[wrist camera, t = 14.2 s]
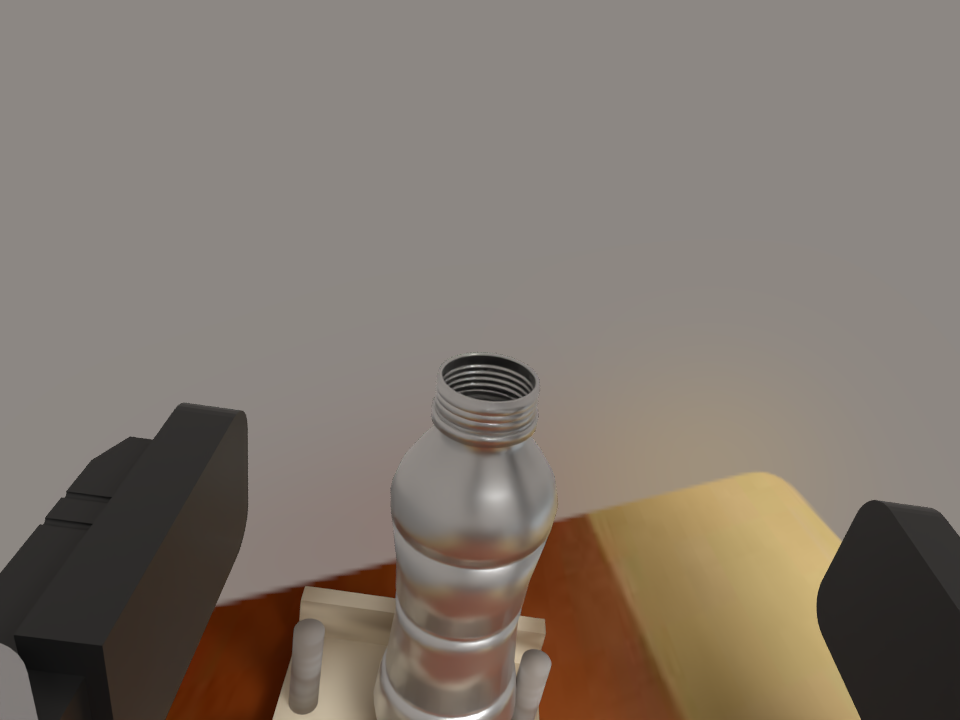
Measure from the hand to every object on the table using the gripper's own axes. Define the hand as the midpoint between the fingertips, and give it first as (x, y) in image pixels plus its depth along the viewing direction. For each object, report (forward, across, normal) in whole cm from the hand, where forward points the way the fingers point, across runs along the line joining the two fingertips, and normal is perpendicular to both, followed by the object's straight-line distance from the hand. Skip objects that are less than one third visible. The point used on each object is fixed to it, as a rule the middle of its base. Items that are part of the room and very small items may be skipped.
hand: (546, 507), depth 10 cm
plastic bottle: (+15, -1, +27) cm, 31 cm away
